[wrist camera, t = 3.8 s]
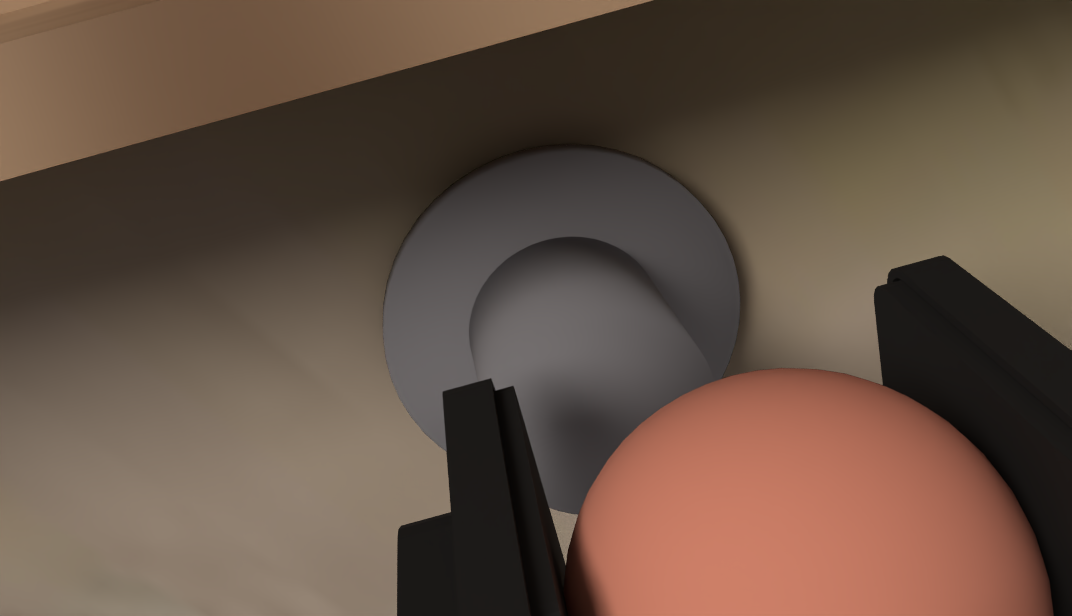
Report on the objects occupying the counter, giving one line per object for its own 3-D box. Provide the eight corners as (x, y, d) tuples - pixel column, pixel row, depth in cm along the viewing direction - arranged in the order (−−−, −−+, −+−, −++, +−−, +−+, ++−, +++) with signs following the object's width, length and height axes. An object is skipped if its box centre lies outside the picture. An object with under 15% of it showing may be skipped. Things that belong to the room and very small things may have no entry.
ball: (897, 247, 10) (1188, 485, 6) (926, 567, 12) (1167, 900, 8) (494, 358, 10) (549, 660, 6) (584, 662, 11) (667, 1037, 8)
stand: (700, 100, 14) (780, 156, 11) (754, 414, 16) (832, 525, 14) (334, 203, 14) (326, 286, 11) (439, 508, 16) (455, 640, 13)
